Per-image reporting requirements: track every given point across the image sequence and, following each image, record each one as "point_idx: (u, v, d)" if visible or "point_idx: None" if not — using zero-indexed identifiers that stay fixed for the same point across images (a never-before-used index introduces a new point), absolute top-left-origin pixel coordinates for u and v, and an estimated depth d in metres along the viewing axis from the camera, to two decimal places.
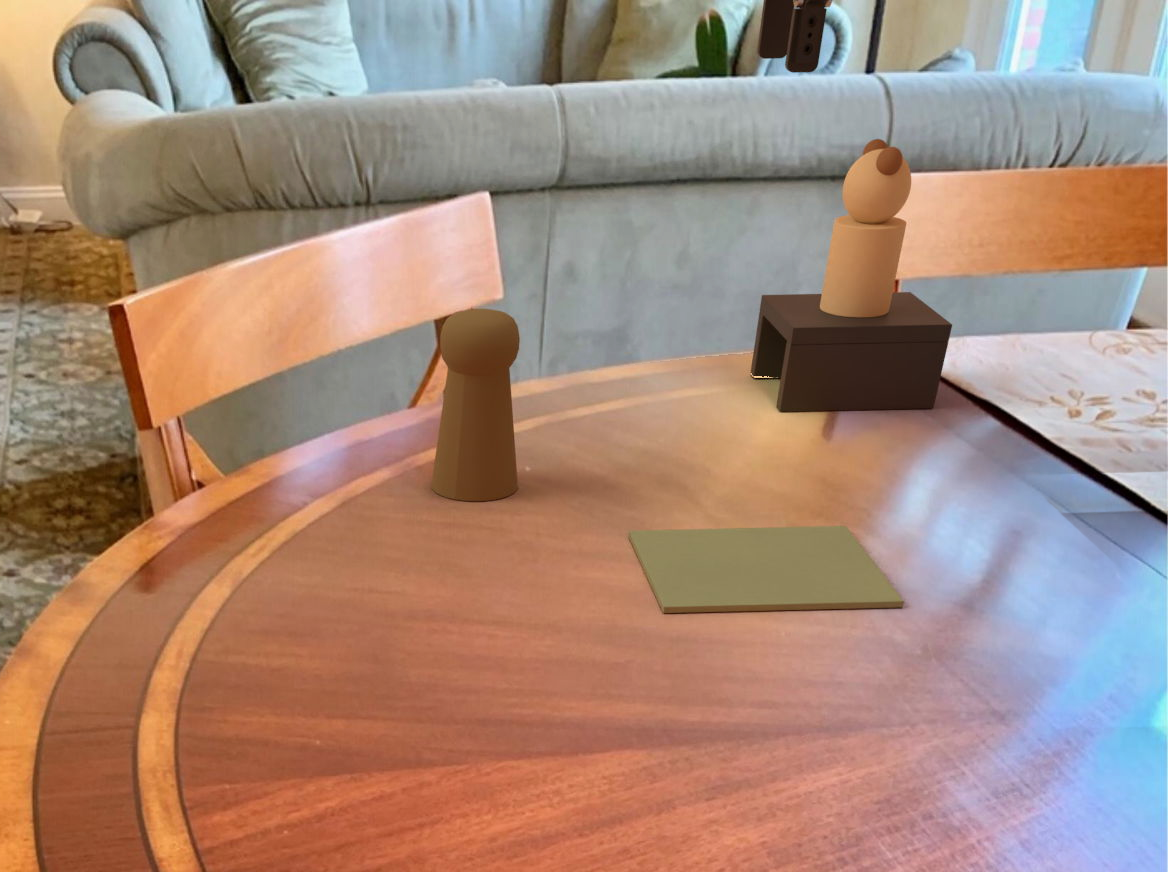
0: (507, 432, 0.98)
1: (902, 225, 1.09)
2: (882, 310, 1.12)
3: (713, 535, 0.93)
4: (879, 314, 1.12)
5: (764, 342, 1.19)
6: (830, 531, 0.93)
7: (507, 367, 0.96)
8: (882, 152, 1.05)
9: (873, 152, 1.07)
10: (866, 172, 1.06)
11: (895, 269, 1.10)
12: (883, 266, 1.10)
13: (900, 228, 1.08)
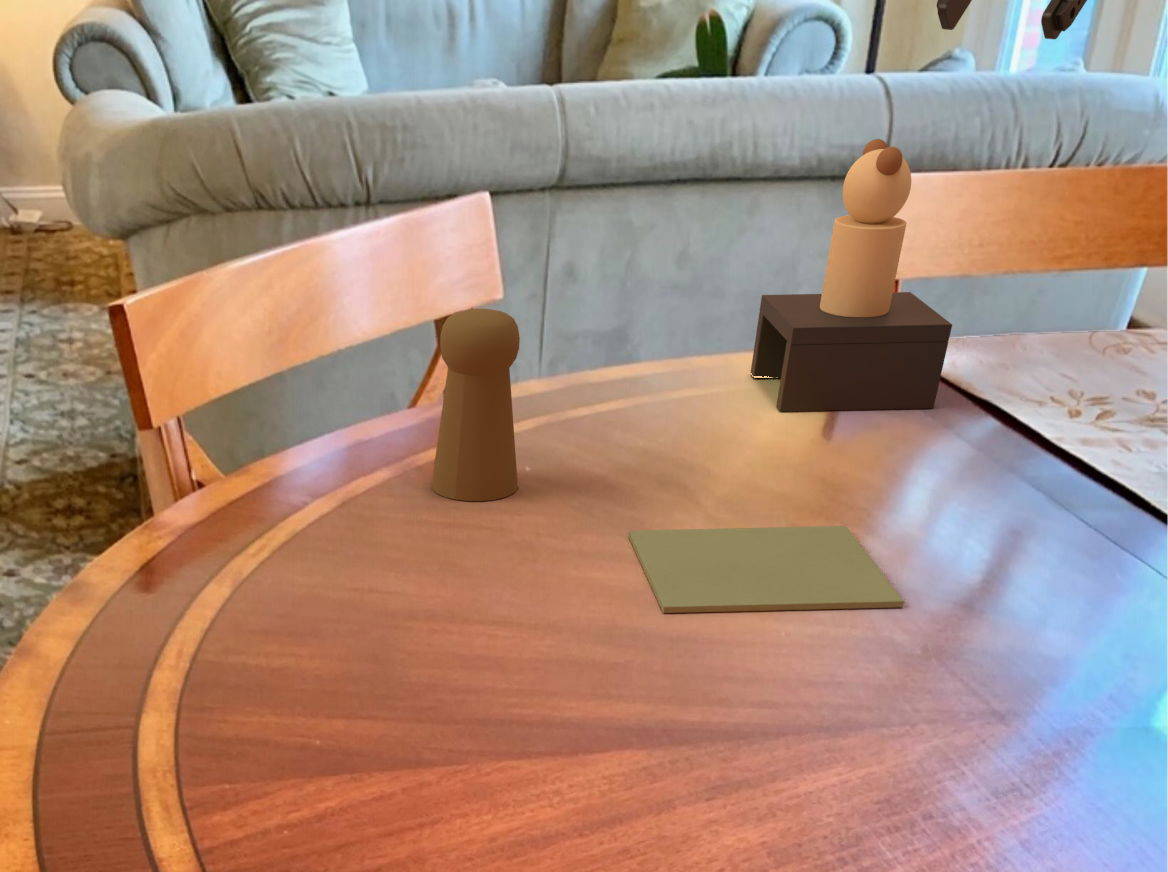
0: (507, 432, 0.98)
1: (902, 225, 1.09)
2: (882, 310, 1.12)
3: (713, 535, 0.93)
4: (879, 314, 1.12)
5: (764, 342, 1.19)
6: (830, 531, 0.93)
7: (507, 367, 0.96)
8: (882, 152, 1.05)
9: (873, 152, 1.07)
10: (866, 172, 1.06)
11: (895, 269, 1.10)
12: (883, 266, 1.10)
13: (900, 228, 1.08)
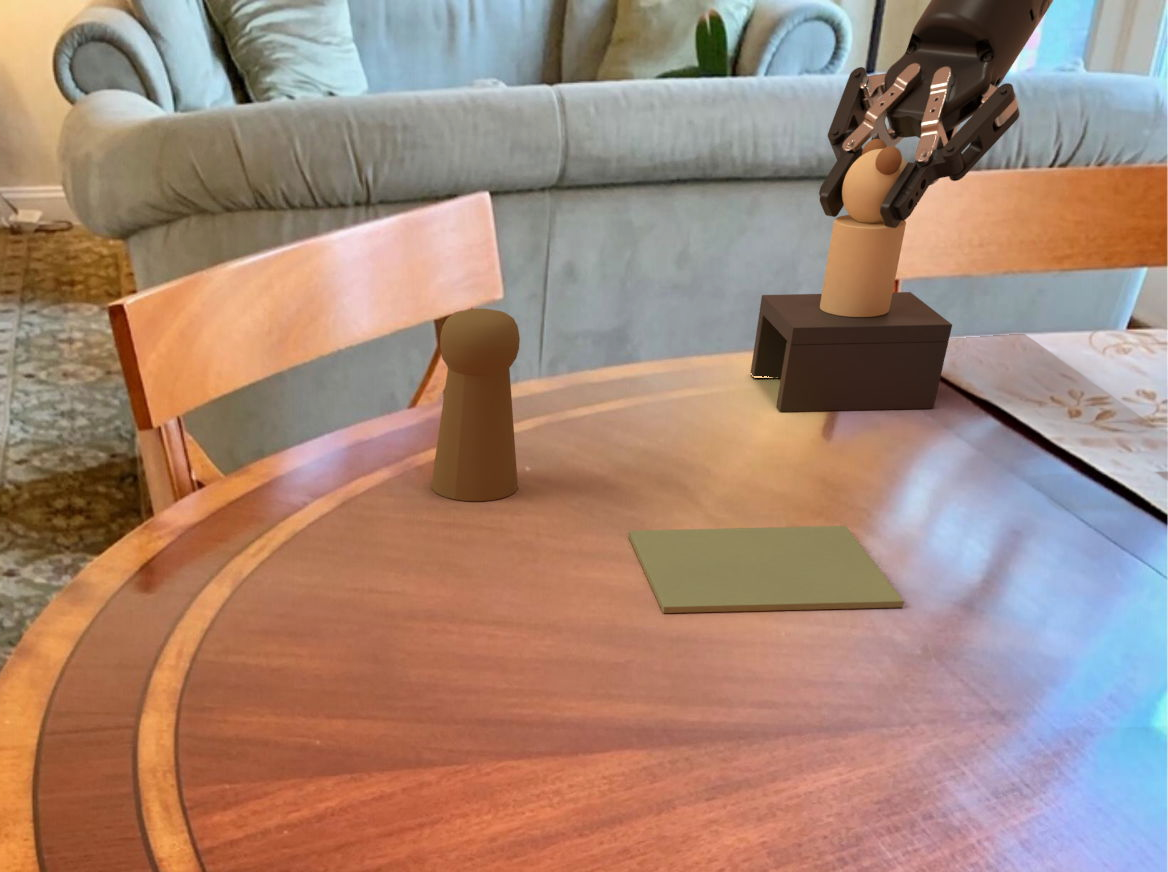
0: (507, 432, 0.98)
1: (902, 224, 1.09)
2: (882, 310, 1.12)
3: (713, 535, 0.93)
4: (879, 314, 1.12)
5: (764, 342, 1.19)
6: (830, 531, 0.93)
7: (507, 367, 0.96)
8: (881, 152, 1.05)
9: (872, 152, 1.07)
10: (866, 172, 1.06)
11: (895, 268, 1.10)
12: (882, 266, 1.10)
13: (899, 228, 1.08)
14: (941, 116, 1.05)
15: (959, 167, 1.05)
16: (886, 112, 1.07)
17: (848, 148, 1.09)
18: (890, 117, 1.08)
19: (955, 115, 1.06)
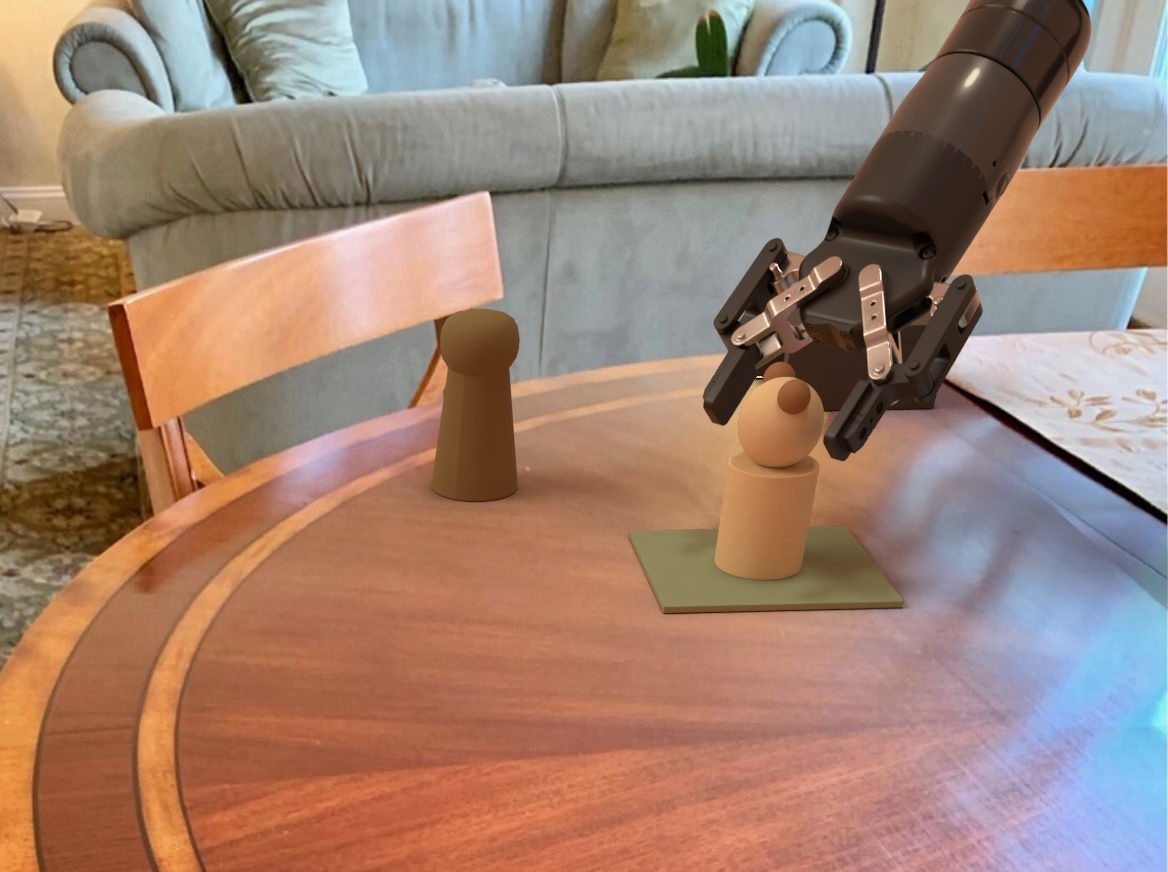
0: (507, 432, 0.98)
1: (813, 471, 0.84)
2: (791, 570, 0.88)
3: (713, 535, 0.93)
4: (788, 575, 0.88)
5: None
6: (830, 531, 0.93)
7: (507, 367, 0.96)
8: (784, 386, 0.81)
9: (774, 382, 0.83)
10: (765, 409, 0.82)
11: (807, 522, 0.86)
12: (790, 521, 0.85)
13: (810, 475, 0.84)
14: (887, 321, 0.80)
15: (929, 385, 0.79)
16: (789, 310, 0.83)
17: (738, 342, 0.85)
18: (805, 323, 0.83)
19: None
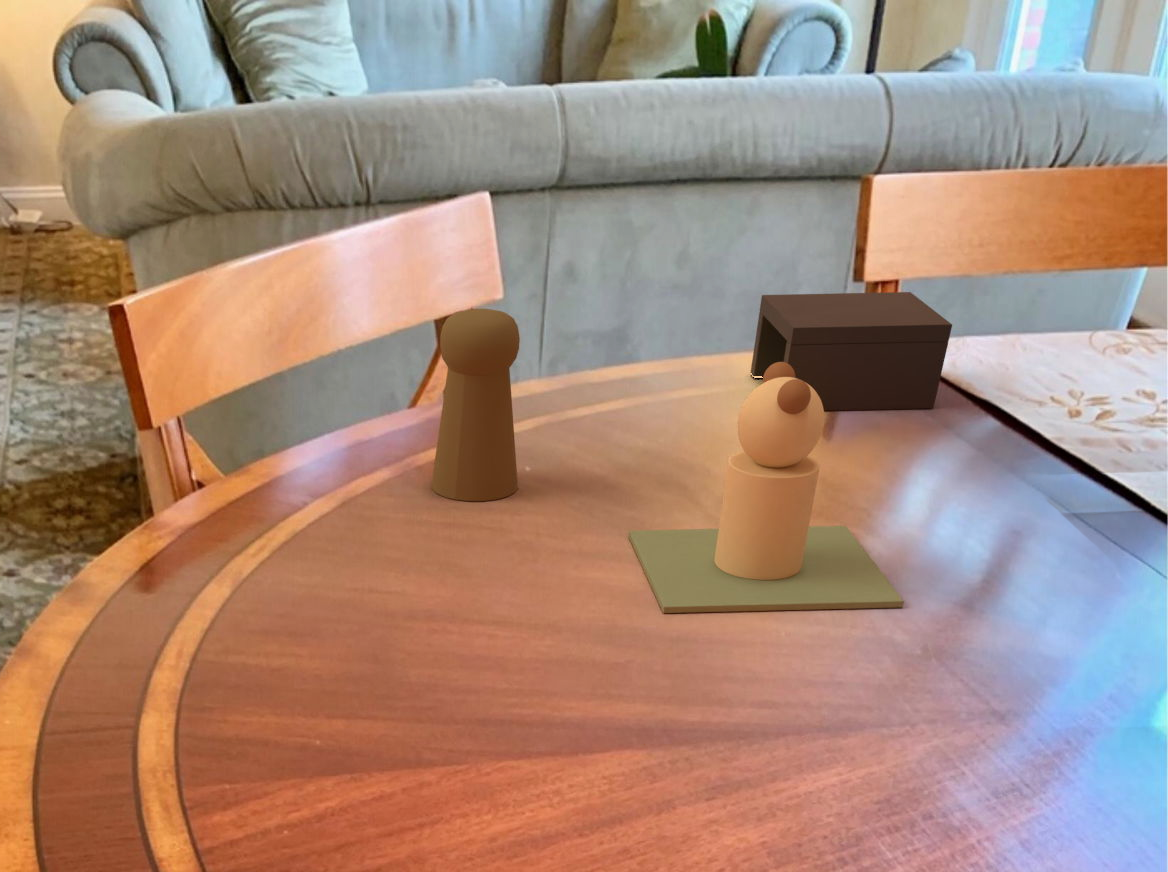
0: (507, 432, 0.98)
1: (813, 471, 0.84)
2: (791, 570, 0.88)
3: (713, 535, 0.93)
4: (788, 575, 0.88)
5: (764, 342, 1.19)
6: (830, 531, 0.93)
7: (507, 367, 0.96)
8: (784, 386, 0.81)
9: (774, 382, 0.83)
10: (765, 409, 0.82)
11: (807, 522, 0.86)
12: (790, 521, 0.85)
13: (810, 475, 0.84)
14: None
15: None
16: None
17: None
18: None
19: None
